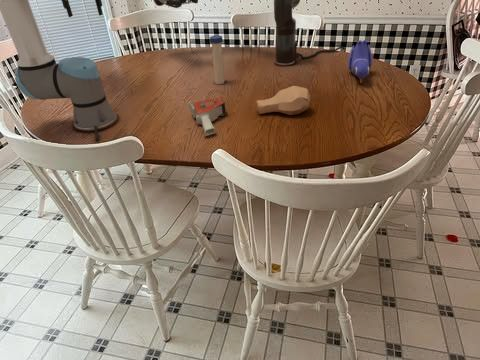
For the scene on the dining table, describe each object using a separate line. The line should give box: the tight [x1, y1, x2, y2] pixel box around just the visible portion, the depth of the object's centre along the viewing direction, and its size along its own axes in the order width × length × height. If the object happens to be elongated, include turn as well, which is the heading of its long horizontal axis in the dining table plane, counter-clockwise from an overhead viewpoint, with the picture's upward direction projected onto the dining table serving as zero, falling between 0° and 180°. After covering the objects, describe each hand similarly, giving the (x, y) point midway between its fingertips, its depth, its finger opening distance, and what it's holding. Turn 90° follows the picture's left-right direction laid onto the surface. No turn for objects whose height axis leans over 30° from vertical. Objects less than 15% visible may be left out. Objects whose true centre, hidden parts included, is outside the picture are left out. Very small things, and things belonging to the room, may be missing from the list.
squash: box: [255, 85, 312, 116], centre depth 130 cm, size 11×20×9 cm, turn 92°
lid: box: [209, 34, 224, 44], centre depth 149 cm, size 5×5×2 cm
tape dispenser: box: [188, 97, 226, 137], centre depth 128 cm, size 18×5×20 cm
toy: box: [347, 39, 373, 84], centre depth 152 cm, size 10×17×25 cm
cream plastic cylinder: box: [211, 42, 225, 85], centre depth 154 cm, size 4×4×19 cm
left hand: (85, 15), depth 157 cm, fingers open, 13 cm apart
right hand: (188, 2), depth 156 cm, fingers open, 8 cm apart
